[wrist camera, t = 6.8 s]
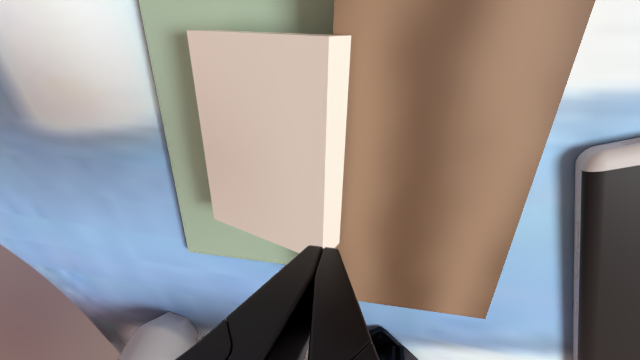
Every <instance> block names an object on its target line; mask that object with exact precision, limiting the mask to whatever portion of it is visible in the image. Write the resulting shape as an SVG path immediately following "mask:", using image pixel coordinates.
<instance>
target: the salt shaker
mask: <svg viewBox="0 0 640 360" xmlns="http://www.w3.org/2000/svg"><path fill="white" fill-rule="evenodd" d="M197 335H198V331H197V330H196V329H195V327H194V326H193V325H192V323H191V322H190V321H189V320H188V318H186V317H183V316H180V315H177V314H174V313H171V312H167V313H165V314H163V315H161V316H159V317H157V318H155V319H153V320H151V321H149V322H147V323H145V324H143V325H141V326H140V327H139V328H138V329H137V330H136V331H135V333H134V334H133V335H132V336H131V337H130V339H129V340H128V342H127V344H126V346H125V347H124V349H123V351H122V353H121V354H120V356H119V358H118V360H175V359H176V358H178V357H179V356H180V355H182V354H183V353H184V352H186V351H187V350H188V349H190V348H191V347H192V346H194V345H195V344H196V343H197Z"/></svg>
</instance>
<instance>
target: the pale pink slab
mask: <svg viewBox="0 0 640 360" xmlns="http://www.w3.org/2000/svg"><path fill="white" fill-rule="evenodd" d="M187 37H188V44H189V51H190V58H191V64H192V71H193V78H194V85H195V92H196V98H197V105H198V112H199V119H200V126H201V133H202V139H203V146H204V153H205V160H206V167H207V174H208V180H209V187H210V194H211V201H212V208H213V214H214V219H215V220H218V221H220V222H223V223H225V224H228V225H230V226H233V227H235V228H238V229H240V230H243V231H245V232H248V233H250V234H253V235H255V236H258V237H260V238H263V239H265V240H268V241H270V242H273V243H275V244H277V245H280V246H282V247H285V248H287V249H290V250H292V251H295V252H297V253H300V252H301V251H303V250H304V249H305V248H306V247H307V246H309V245H313V246H321V247H323V248H325V247H330V248H335V247H336V246H337V245H338V244H339V241H340V223H341V206H342V188H343V171H344V154H345V136H346V119H347V101H348V84H349V67H350V49H351V35H328V34H303V33H279V32H254V31H230V30H187Z"/></svg>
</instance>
